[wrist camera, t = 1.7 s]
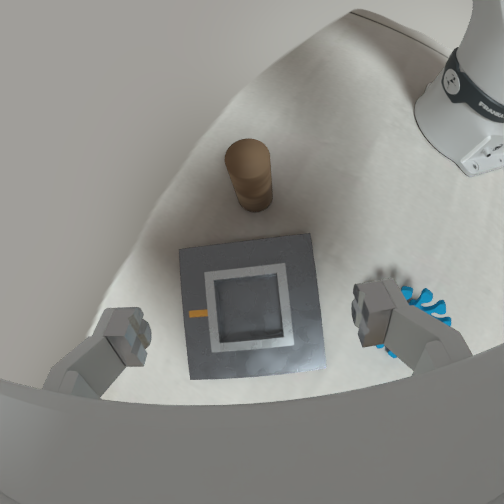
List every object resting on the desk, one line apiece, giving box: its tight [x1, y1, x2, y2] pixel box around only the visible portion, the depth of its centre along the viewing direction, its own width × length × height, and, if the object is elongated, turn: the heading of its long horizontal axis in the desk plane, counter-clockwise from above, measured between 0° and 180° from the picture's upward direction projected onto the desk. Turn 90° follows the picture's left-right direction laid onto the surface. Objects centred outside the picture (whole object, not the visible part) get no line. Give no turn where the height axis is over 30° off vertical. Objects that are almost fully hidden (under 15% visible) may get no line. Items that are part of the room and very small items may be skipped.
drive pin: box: [225, 139, 273, 212], centre depth 32 cm, size 4×4×10 cm
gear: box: [376, 286, 451, 358], centre depth 30 cm, size 11×6×10 cm
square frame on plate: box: [179, 233, 326, 380], centre depth 33 cm, size 16×16×3 cm
